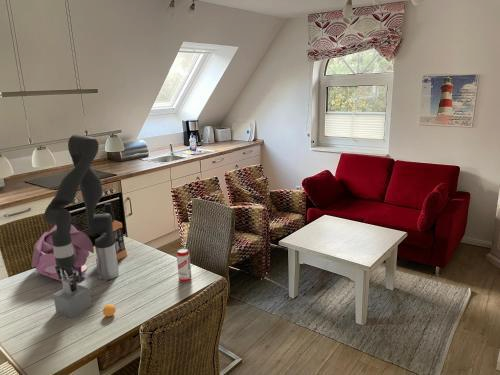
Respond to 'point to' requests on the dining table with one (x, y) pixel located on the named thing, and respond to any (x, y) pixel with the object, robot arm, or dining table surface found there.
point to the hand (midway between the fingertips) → (70, 289)
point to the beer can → (184, 265)
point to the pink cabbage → (47, 261)
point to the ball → (109, 310)
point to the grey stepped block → (72, 299)
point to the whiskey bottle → (116, 234)
